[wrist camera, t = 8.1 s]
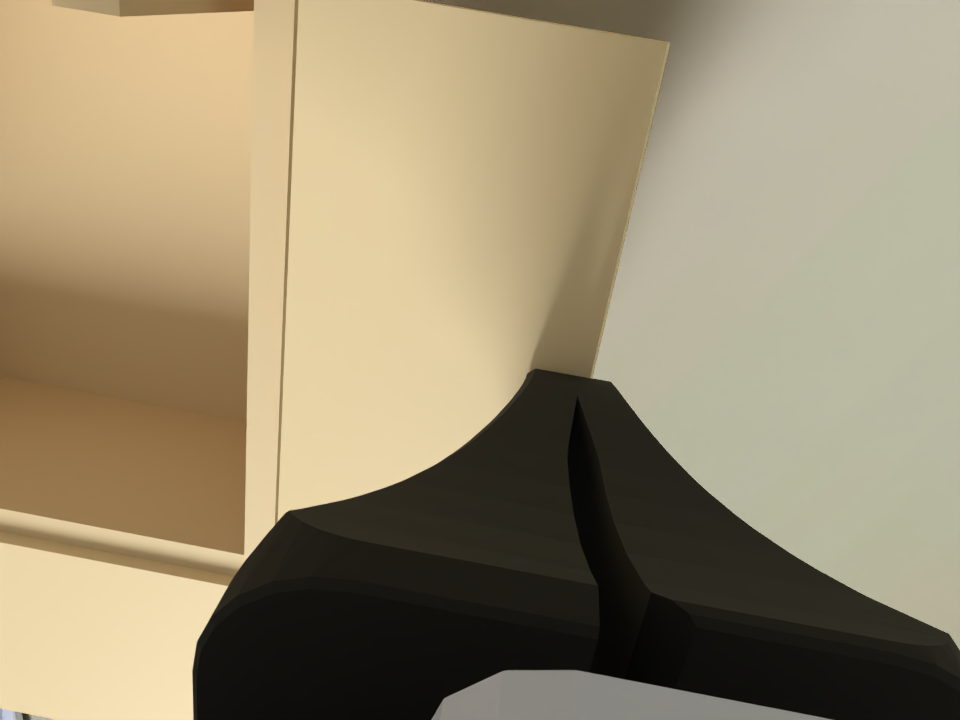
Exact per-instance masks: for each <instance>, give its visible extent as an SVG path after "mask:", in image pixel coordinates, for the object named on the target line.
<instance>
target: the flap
mask: <svg viewBox="0 0 960 720" xmlns="http://www.w3.org/2000/svg"><path fill="white" fill-rule="evenodd" d="M670 43H671V42H666V41H660V40H655V39H649V38H643V37H637V36H631V35H625V34H619V33H613V32H607V31H601V30H595V29H589V28H583V27H577V26H572V25H566V24H560V23H554V22H548V21H542V20H536V19H530V18H524V17H518V16H512V15H506V14H500V13H494V12H488V11H483V10H477V9H471V8H465V7H459V6H453V5H447V4H441V3H435V2H429V1H423V0H299V2H298V27H297V52H296V77H295V102H294V127H293V152H292V177H291V202H290V226H289V251H288V276H287V301H286V326H285V351H284V376H283V401H282V426H281V451H280V476H279V500H278V521H279V520H280V518H281V517H282V516H283V515H284V514H285V513H286V512H288V511H289V510H296V509H302V508H307V507H312V506H317V505H322V504H327V503H332V502H336V501H341V500H346V499H350V498H353V497H357V496H360V495H364V494H367V493H370V492H373V491H376V490H379V489H382V488H385V487H388V486H390V485H393V484H396V483H398V482H401V481H403V480H405V479H407V478H410V477H412V476H414V475H416V474H418V473H420V472H422V471H424V470H426V469H428V468H430V467H432V466H434V465H435V464H437V463H439V462H440V461H442V460H443V459H445V458H446V457H448V456H449V455H451V454H452V453H454V452H455V451H456V450H458V449H459V448H461V447H462V446H463V445H464V444H466V443H467V442H468V441H470V440H471V439H472V438H473V437H474V436H475V435H476V434H478V433H479V432H480V431H481V430H482V429H483V428H484V427H485V426H486V425H488V424H489V423H490V422H491V421H492V420H493V419H494V418H495V417H496V416H497V415H498V414H499V413H500V411H501V410H502V409H503V408H504V407H505V406H506V405H507V404H508V403H509V401H510V400H511V399H512V398H513V397H514V395H515V394H516V393H517V391H518V390H519V389H520V387H521V386H522V384H523V382H524V380H525V378H526V375H527V373H529V372H530V371H532V370H534V369H535V368H536V369H541V370H547V371H553V372H558V373H564V374H569V375H575V376H581V377H586V378H592V377H593V373H594V369H595V364H596V360H597V356H598V352H599V347H600V343H601V339H602V334H603V330H604V326H605V322H606V317H607V313H608V309H609V304H610V300H611V296H612V292H613V287H614V283H615V279H616V274H617V270H618V266H619V262H620V257H621V253H622V249H623V244H624V240H625V236H626V232H627V227H628V223H629V219H630V214H631V210H632V206H633V202H634V197H635V193H636V189H637V184H638V180H639V176H640V172H641V167H642V163H643V159H644V155H645V150H646V146H647V142H648V137H649V133H650V129H651V125H652V120H653V116H654V112H655V107H656V103H657V99H658V95H659V90H660V86H661V82H662V77H663V73H664V69H665V65H666V60H667V56H668V52H669V47H670Z"/></svg>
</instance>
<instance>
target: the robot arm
mask: <svg viewBox="0 0 960 720" xmlns="http://www.w3.org/2000/svg"><path fill="white" fill-rule="evenodd" d="M192 678H193V720H960V650H959V649H958V647H957V645H956V644H955V642H954V641H953V639H952V638H951V636H950V635H949V634H948V633H945V632H943V631H941V630H939V629H937V628H934V627H932V626H930V625H928V624H926V623H923V622H921V621H919V620H917V619H915V618H912V617H910V616H908V615H906V614H904V613H901V612H899V611H897V610H895V609H893V608H890V607H888V606H886V605H884V604H882V603H880V602H877V601H875V600H873V599H871V598H869V597H867V596H865V595H863V594H861V593H859V592H857V591H855V590H853V589H851V588H850V587H848V586H846V585H844V584H842V583H840V582H839V581H837V580H835V579H833V578H831V577H829V576H828V575H826V574H824V573H822V572H820V571H818V570H817V569H815V568H813V567H812V566H810V565H808V564H807V563H805V562H803V561H802V560H800V559H798V558H797V557H795V556H793V555H792V554H790V553H789V552H787V551H786V550H784V549H783V548H781V547H780V546H778V545H777V544H775V543H774V542H772V541H771V540H769V539H768V538H767V537H765V536H764V535H762V534H761V533H759V532H758V531H756V530H755V529H753V528H752V527H751V526H749V525H748V524H747V523H745V522H744V521H743V520H741V519H740V518H739V517H737V516H736V515H735V514H734V513H732V512H731V511H730V510H729V509H728V508H726V507H725V506H724V505H723V504H722V503H720V502H719V501H718V500H717V499H716V498H714V497H713V496H712V495H711V494H710V493H708V492H707V491H706V490H705V489H704V488H703V487H702V486H701V485H700V484H699V483H697V482H696V481H695V480H694V479H693V478H692V477H691V476H690V475H689V474H688V473H687V472H686V471H685V470H684V469H683V468H682V467H681V466H680V465H679V464H678V463H677V461H676V460H675V459H674V458H673V457H672V456H671V455H670V454H669V453H668V452H667V451H666V450H665V449H664V447H663V446H662V445H661V444H660V443H659V442H658V441H657V439H656V438H655V437H654V436H653V435H652V434H651V432H650V431H649V430H648V429H647V427H646V426H645V425H644V424H643V422H642V421H641V420H640V419H639V417H638V416H637V415H636V414H635V412H634V411H633V410H632V408H631V407H630V406H629V404H628V403H627V402H626V401H625V399H624V398H623V397H622V395H621V394H620V393H619V391H618V390H617V389H616V387H615V386H614V385H613V384H612V383H611V382H609V381H603V380H597V379H592V378H586V377H581V376H575V375H569V374H564V373H558V372H553V371H547V370H541V369H536V368H535V369H534V370H532V371H530V372H529V373H527V375H526V378H525V380H524V382H523V384H522V386H521V387H520V389H519V390H518V391H517V393H516V394H515V395H514V397H513V398H512V399H511V400H510V401H509V403H508V404H507V405H506V406H505V407H504V408H503V409H502V410H501V411H500V413H499V414H498V415H497V416H496V417H495V418H494V419H493V420H492V421H491V422H490V423H489V424H488V425H486V426H485V427H484V428H483V429H482V430H481V431H480V432H479V433H478V434H476V435H475V436H474V437H473V438H472V439H471V440H470V441H468V442H467V443H466V444H464V445H463V446H462V447H461V448H459V449H458V450H456V451H455V452H454V453H452V454H451V455H449V456H448V457H446V458H445V459H443V460H442V461H440V462H439V463H437V464H435V465H434V466H432V467H430V468H428V469H426V470H424V471H422V472H420V473H418V474H416V475H414V476H412V477H410V478H407V479H405V480H403V481H401V482H398V483H396V484H393V485H390V486H388V487H385V488H382V489H379V490H376V491H373V492H370V493H367V494H364V495H360V496H357V497H353V498H350V499H346V500H341V501H336V502H332V503H327V504H322V505H317V506H312V507H307V508H302V509H296V510H289V511H288V512H286V513H285V514H284V515H283V516H282V517H281V518H280V520H279V521H278V522H277V523H276V524H275V525H274V527H273V528H272V529H271V530H270V531H269V532H268V534H267V535H266V536H265V537H264V538H263V540H262V541H261V542H260V543H259V545H258V546H257V547H256V548H255V549H254V551H253V552H252V553H251V554H250V555H249V557H248V558H247V559H246V560H245V562H244V563H243V564H242V566H241V567H240V569H239V570H238V572H237V573H236V575H235V576H234V578H233V579H232V580H231V582H230V584H229V586H228V587H227V589H226V591H225V593H224V594H223V596H222V598H221V600H220V602H219V603H218V605H217V607H216V609H215V611H214V612H213V614H212V616H211V618H210V619H209V621H208V623H207V625H206V626H205V628H204V630H203V632H202V634H201V635H200V637H199V639H198V641H197V644H196V650H195V657H194V663H193V669H192ZM0 720H23V717H22V713H21V712H16V711H11V710H6V709H1V708H0Z"/></svg>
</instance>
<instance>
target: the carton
mask: <svg viewBox="0 0 960 720" xmlns="http://www.w3.org/2000/svg"><path fill="white" fill-rule="evenodd" d="M298 2H299V0H0V708H1V709H6V710H11V711H16V712H21V713H26V714H31V715H36V716H41V717H46V718H51V719H56V720H193V678H192V669H193V663H194V657H195V650H196V644H197V641H198V639H199V637H200V635H201V634H202V632H203V630H204V628H205V626H206V625H207V623H208V621H209V619H210V618H211V616H212V614H213V612H214V611H215V609H216V607H217V605H218V603H219V602H220V600H221V598H222V596H223V594H224V593H225V591H226V589H227V587H228V586H229V584H230V582H231V580H232V579H233V578H234V576H235V575H236V573H237V572H238V570H239V569H240V567H241V566H242V564H243V563H244V562H245V560H246V559H247V558H248V557H249V555H250V554H251V553H252V552H253V551H254V549H255V548H256V547H257V546H258V545H259V543H260V542H261V541H262V540H263V538H264V537H265V536H266V535H267V534H268V532H269V531H270V530H271V529H272V528H273V527H274V525H275V524H276V523H277V522H278V500H279V476H280V451H281V426H282V401H283V376H284V351H285V326H286V301H287V276H288V251H289V226H290V202H291V177H292V152H293V127H294V102H295V77H296V52H297V27H298ZM63 543H64V544H63Z"/></svg>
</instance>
